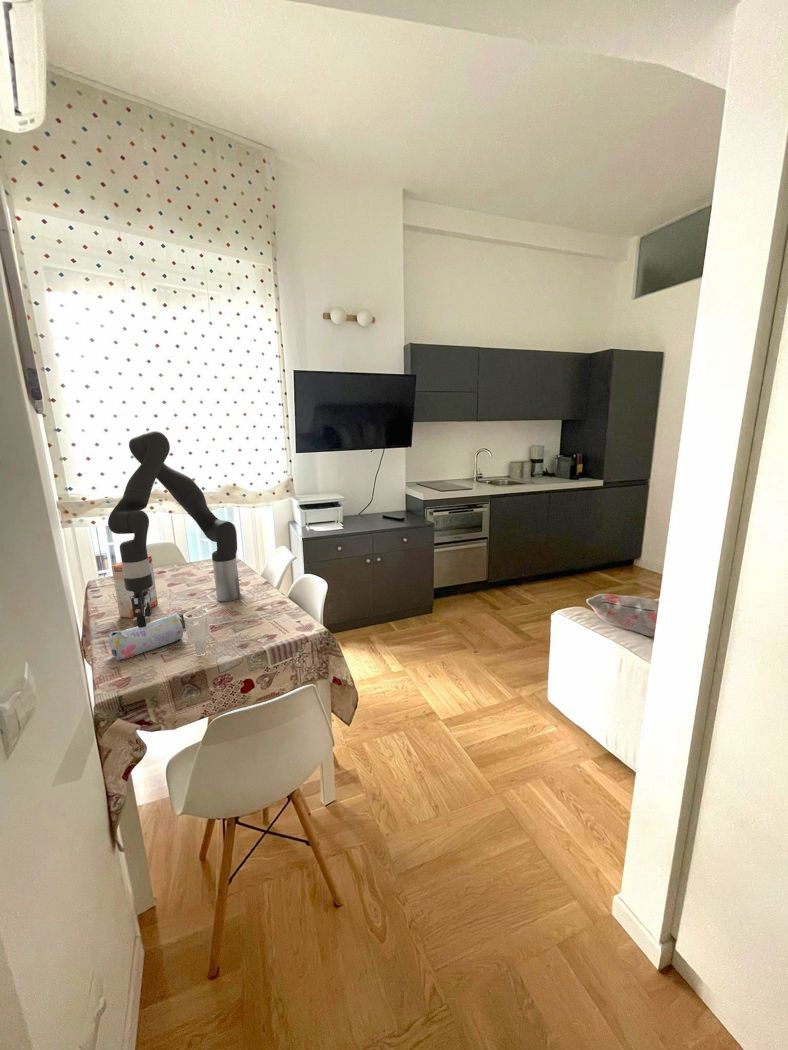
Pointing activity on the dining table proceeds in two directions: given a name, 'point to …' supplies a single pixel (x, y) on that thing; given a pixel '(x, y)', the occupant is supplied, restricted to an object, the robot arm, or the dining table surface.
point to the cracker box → (126, 596)
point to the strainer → (198, 629)
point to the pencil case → (146, 637)
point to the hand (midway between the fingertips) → (145, 621)
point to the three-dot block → (136, 621)
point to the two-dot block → (182, 616)
